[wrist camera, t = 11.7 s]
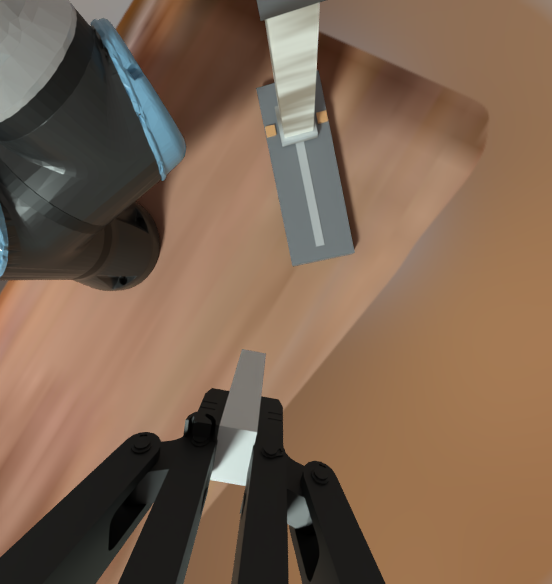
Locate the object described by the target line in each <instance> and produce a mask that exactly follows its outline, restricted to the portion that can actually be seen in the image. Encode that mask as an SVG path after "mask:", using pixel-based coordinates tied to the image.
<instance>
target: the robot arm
mask: <svg viewBox="0 0 552 584" xmlns="http://www.w3.org/2000/svg"><path fill="white" fill-rule="evenodd" d="M185 152H186V144H185V140H184V138H183V136H182V134H181V132H180V131H179V129H178V127H177V125H176V124H175V122H174V120H173V119H172V117H171V115H170V114H169V112H168V111H167V109H166V107H165V106H164V104H163V102H162V101H161V99H160V98H159V96H158V94H157V93H156V91H155V90H154V88H153V87H152V85H151V83H150V82H149V80H148V79H147V77H146V76H145V75H144V74H143V72H142V70H141V68H140V67H139V65H138V63H137V62H136V60H135V59H134V57H133V55H132V54H131V52H130V51H129V49H128V47H127V46H126V44H125V43H124V41H123V40H122V38H121V37H120V35H119V34H118V32H117V31H116V29H115V28H114V27H113V25H112V24H111V23H110V22H109V21H108V20H107V19H104V18H102V19H99V20H96V19H94V20H93V21H92V22H91V26H89V25H88V23H87V22H86V21H85V20H84V19H83V17H82V16H81V15H80V14H79V13H78V11H77V10H76V9H75V8H74V6H73V5H72V4H71V3H70V2H69V0H0V280H74V281H76V282H79V283H81V284H84V285H87V286H89V287H92V288H94V289H98V290H104V291H117V290H126V289H129V288H132V287H134V286H136V285H138V284H139V283H141V282H142V281H143V280H145V279H146V278H147V277H148V275H149V274H150V273H151V271H152V270H153V268H154V266H155V264H156V262H157V258H158V254H159V246H160V243H159V234H158V230H157V227H156V225H155V222H154V220H153V219H152V217H151V216H150V214H149V213H148V212H147V211H146V210H145V209H144V208H143V207H142V206H141V205H139V204H138V203H136V202H135V201H136V200H137V199H139V198H140V197H141V196H142V195H143V194H144V193H146V192H147V191H148V190H149V189H150V188H151V187H153V186H154V185H155V184H156V183H157V182H158V181H160V180H162V181H163V180H165V178H166V175H167V174H168V173H169V172H170V171H171V170H172V169H173V168H174V167H175V166H177V165H178V164H179V163H180V162H181V161H182V160H183V158H184V156H185ZM265 357H266V354H265V353H260V352H255V351H249V350H244V349H242V351H241V355H240V358H239V361H238V365H237V368H236V372H235V375H234V378H233V382H232V385H231V388H230V391H225V390H220V389H214V388H212V389H210V390H209V391H208V392H207V393H205V396H204V398H203V400H202V403H201V405H200V408H199V410H198V412H194V413H192V414H191V415H189V416H188V417H187V419H186V421H185V428H184V436H183V437H181V438H179V439H177V440H172V441H164V442H161V441H160V439H159V437H158V436H157V435H155V434H154V433H149V432H143V433H138V434H135V435H133V436H131V437H130V438H128V439H127V440H126V441H125V442H124V443H123V444H121V445H120V446H119V447H118V448H117V449H116V450H115V451H114V452H113V453H112V454H111V455H110V456H109V457H108V458H106V459H105V460H104V461H103V462H102V463H101V464H100V465H99V466H98V467H97V468H96V469H95V470H94V471H92V472H91V473H90V474H89V475H88V476H87V477H86V478H85V479H84V480H83V481H82V482H81V483H80V484H79V485H77V486H76V487H75V488H74V489H73V490H72V491H71V492H70V493H69V494H68V495H67V496H66V497H65V498H64V499H62V500H61V501H60V502H59V503H58V504H57V505H56V506H55V507H54V508H53V509H52V510H51V511H50V512H49V513H47V514H46V515H45V516H44V517H43V518H42V519H41V520H40V521H39V522H38V523H37V524H36V525H35V526H34V527H32V528H31V529H30V530H29V531H28V532H27V533H26V534H25V535H24V536H23V537H22V538H21V539H20V540H19V541H17V542H16V543H15V544H14V545H13V546H12V547H11V548H10V549H9V550H8V551H7V552H6V553H5V554H4V555H2V556H1V557H0V584H96V582H97V581H98V579H99V578H100V577H101V575H102V574H103V573H104V571H105V570H106V568H107V567H108V566H109V564H110V563H111V561H112V560H113V559H114V557H115V556H116V554H117V553H118V552H119V550H120V549H121V548H122V546H123V545H124V543H125V542H126V541H127V539H128V538H129V536H130V535H131V534H132V532H133V531H134V529H135V528H136V527H137V525H138V524H139V523H140V521H141V520H142V518H143V517H144V516H145V514H146V513H147V511H148V510H149V509H150V507H151V506H152V504H153V503H154V504H153V506H152V509H151V511H150V513H149V515H148V518H147V520H146V522H145V524H144V527H143V529H142V531H141V533H140V536H139V538H138V540H137V542H136V545H135V547H134V549H133V551H132V554H131V556H130V558H129V560H128V563H127V565H126V567H125V569H124V572H123V574H122V576H121V578H120V581H119V583H118V584H183V583H184V579H185V575H186V571H187V568H188V564H189V560H190V556H191V552H192V549H193V545H194V541H195V537H196V534H197V530H198V526H199V522H200V519H201V515H202V511H203V507H204V504H205V500H206V496H207V492H208V486H209V481H210V480H214V481H220V482H226V483H232V484H237V485H244V486H246V487H245V492H244V496H243V502H242V506H241V510H240V513H241V517H240V524H239V531H238V539H237V546H236V553H235V560H234V568H233V575H232V583H231V584H288V533H287V524H289V529H290V533H291V538H292V542H293V546H294V550H295V554H296V558H297V563H298V567H299V571H300V575H301V579H302V584H385V582H384V580H383V577H382V575H381V573H380V571H379V569H378V566H377V564H376V562H375V560H374V558H373V556H372V553H371V551H370V549H369V547H368V544H367V542H366V540H365V538H364V536H363V533H362V531H361V529H360V528H359V525H358V523H357V520H356V518H355V516H354V514H353V512H352V509H351V507H350V505H349V503H348V501H347V499H346V496H345V494H344V492H343V490H342V488H341V485H340V483H339V481H338V479H337V477H336V475H335V473H334V472H333V470H332V469H331V468H330V467H329V466H327V465H326V464H324V463H322V462H318V461H312V462H308V463H307V464H306V465H305V466H303V465H301V464H299V463H297V462H295V461H294V460H292V459H291V458H290V457H289V456H288V455H287V454H286V453H285V449H284V448H283V407H282V405H281V403H280V401H279V400H278V399H272V398H267V397H262V396H261V393H262V384H263V375H264V366H265Z"/></svg>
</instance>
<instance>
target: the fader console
mask: <svg viewBox="0 0 552 584" xmlns="http://www.w3.org/2000/svg"><path fill="white" fill-rule="evenodd" d="M256 89H257V94H258V99H259V104H260V109H261V114H262V119H263V123H264V128H265V133H266V138H267V143H268V148H269V153H270V158H271V163H272V168H273V173H274V178H275V182H276V187H277V192H278V197H279V202H280V207H281V212H282V217H283V222H284V227H285V232H286V236H287V241H288V246H289V251H290V256H291V261H292V266H298V265H303V264H307V263H312V262H317V261H322V260H326V259H331V258H336V257H340V256H345V255H350V254H353V253H355V252H354V247H353V242H352V237H351V232H350V227H349V222H348V217H347V212H346V206H345V201H344V196H343V191H342V186H341V181H340V176H339V171H338V166H337V161H336V156H335V151H334V146H333V141H332V136H331V131H330V126H329V121H328V116H327V111H326V106H325V101H324V96H323V91H322V86H321V81H320V75H319V70H317V71H316V89H315V108H314V117H315V122H316V127H317V132H318V136H317V138H314V139H310V140H307V141H303V142H299V143H295V144H291V145H288V146H284V147H282V142H281V137H280V132H279V127H278V122H277V117H276V112H275V106H278V101H277V95H276V88H275V83H272V84H269V85H266V86H262V87H259V88H256Z"/></svg>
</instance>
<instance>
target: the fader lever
mask: <svg viewBox="0 0 552 584" xmlns="http://www.w3.org/2000/svg"><path fill="white" fill-rule="evenodd" d="M322 1H325V0H257V5H258V10H259V15H260V20H261V21H263V20H265V25H266V31H267V38H268V44H269V50H270V57H271V63H272V69H273V76H274V82H275V88H276V95H277V101H278V106H275V112H276V117H277V122H278V127H279V132H280V137H281V142H282V147H284V146H288V145H291V144H295V143H299V142H303V141H307V140H310V139H314V138H317V136H318V132H317V127H316V122H315V117H314V108H315V89H316V69H317V50H318V30H319V10H320V2H322Z"/></svg>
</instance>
